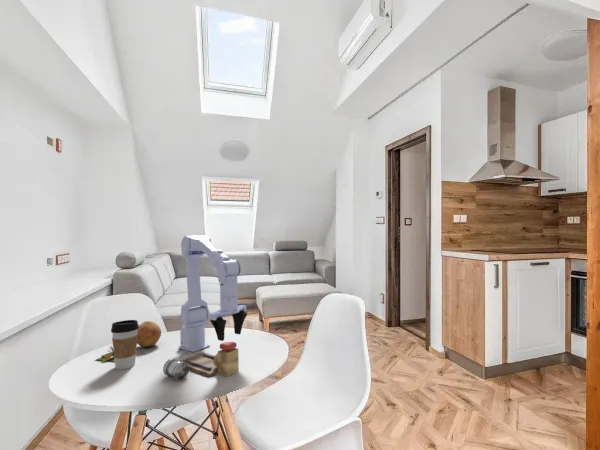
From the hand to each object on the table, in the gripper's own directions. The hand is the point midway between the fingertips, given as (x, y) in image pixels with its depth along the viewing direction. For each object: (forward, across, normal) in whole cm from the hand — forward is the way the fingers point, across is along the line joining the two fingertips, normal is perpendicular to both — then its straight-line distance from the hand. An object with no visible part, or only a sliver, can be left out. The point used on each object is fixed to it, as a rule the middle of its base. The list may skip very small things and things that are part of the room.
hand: (229, 336), depth 106 cm
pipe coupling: (+10, -15, +8) cm, 19 cm away
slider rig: (+10, -4, +5) cm, 11 cm away
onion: (+10, -3, +43) cm, 44 cm away
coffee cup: (+10, -18, +31) cm, 38 cm away
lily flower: (+10, -16, +43) cm, 47 cm away
